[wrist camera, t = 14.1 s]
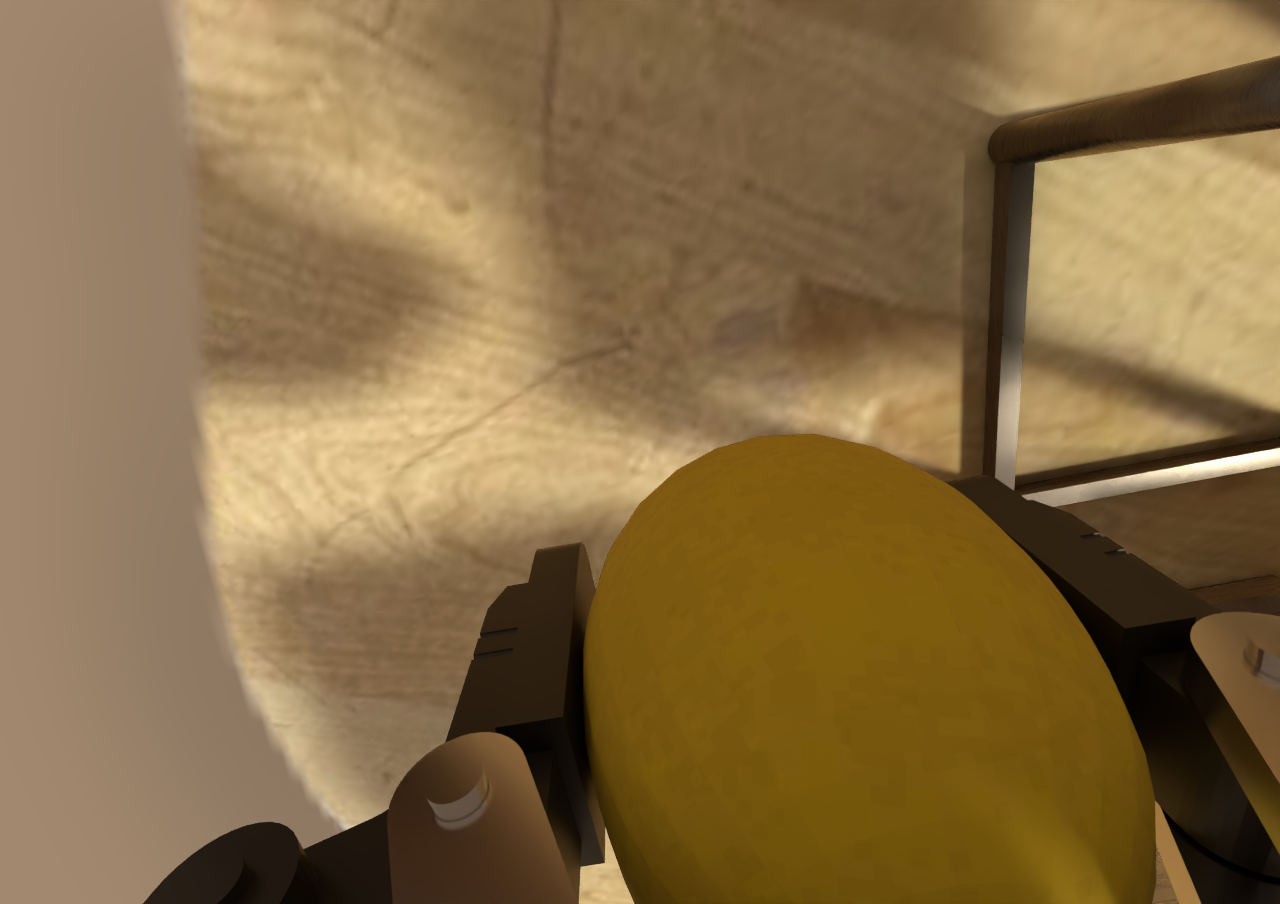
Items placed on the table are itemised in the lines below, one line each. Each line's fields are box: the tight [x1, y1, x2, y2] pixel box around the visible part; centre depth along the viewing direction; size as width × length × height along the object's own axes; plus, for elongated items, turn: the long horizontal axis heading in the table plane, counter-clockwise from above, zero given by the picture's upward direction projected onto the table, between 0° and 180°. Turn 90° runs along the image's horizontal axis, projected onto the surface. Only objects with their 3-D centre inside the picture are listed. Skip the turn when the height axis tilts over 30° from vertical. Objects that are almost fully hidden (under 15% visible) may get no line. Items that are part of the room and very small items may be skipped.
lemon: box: [583, 434, 1156, 904], centre depth 7 cm, size 6×6×8 cm
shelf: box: [1152, 575, 1280, 904], centre depth 16 cm, size 11×31×11 cm, turn 100°
